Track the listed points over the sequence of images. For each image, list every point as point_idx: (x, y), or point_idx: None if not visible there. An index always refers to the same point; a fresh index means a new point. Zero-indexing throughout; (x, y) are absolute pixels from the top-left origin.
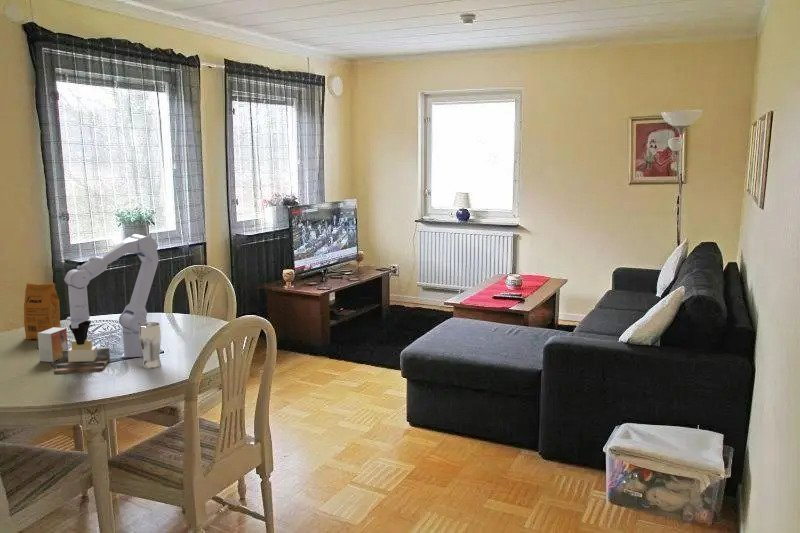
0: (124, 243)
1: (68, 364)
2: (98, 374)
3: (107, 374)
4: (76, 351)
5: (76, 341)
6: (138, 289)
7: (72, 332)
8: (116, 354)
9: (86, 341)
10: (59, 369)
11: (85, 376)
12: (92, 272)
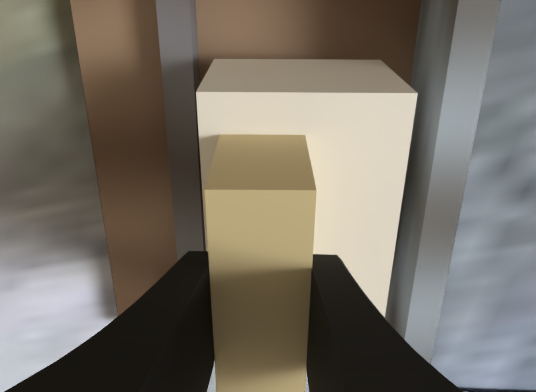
0: None
1: (162, 70)
2: (50, 303)
3: (50, 352)
4: (203, 189)
5: (166, 276)
6: None
7: (23, 381)
8: (530, 346)
9: (216, 377)
10: None
11: (4, 229)
12: None
